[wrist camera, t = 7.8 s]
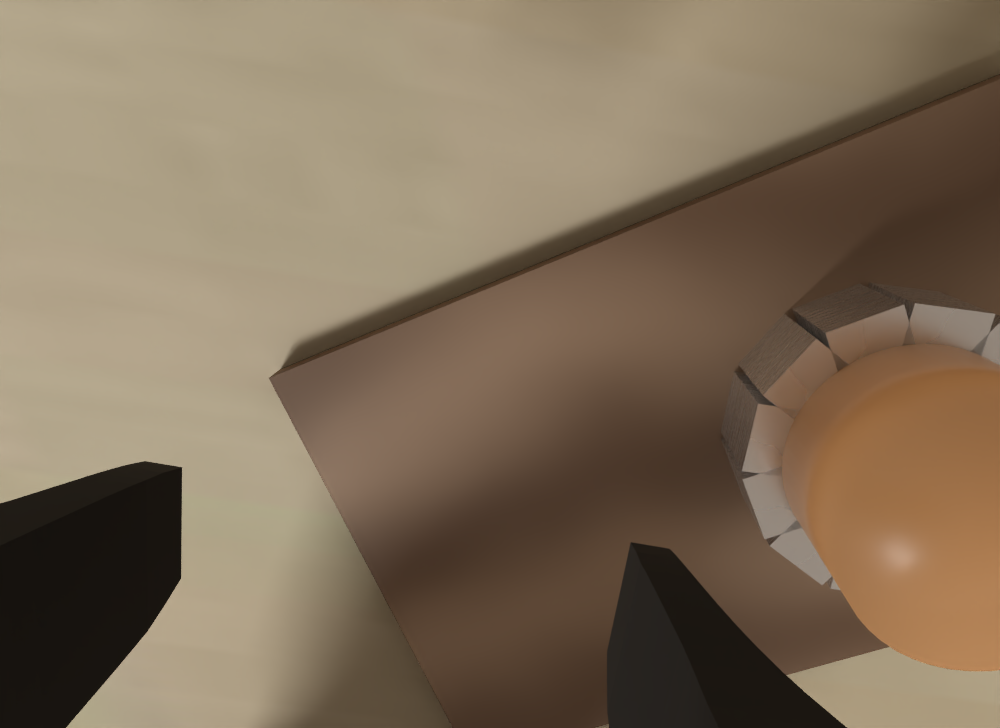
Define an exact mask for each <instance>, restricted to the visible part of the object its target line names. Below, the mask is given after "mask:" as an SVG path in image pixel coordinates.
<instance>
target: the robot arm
mask: <svg viewBox="0 0 1000 728" xmlns="http://www.w3.org/2000/svg"><path fill="white" fill-rule="evenodd" d="M181 515H182V467H176V466H170V465H164V464H158V463H152V462H146V461H144V462H139V463H134V464H129V465H125V466H121V467H118V468H114V469H110V470H107V471H104V472H100V473H97V474H94V475H90V476H87V477H84V478H81V479H78V480H74V481H71V482H68V483H65V484H62V485H59V486H56V487H52V488H49V489H46V490H43V491H40V492H37V493H33V494H30V495H27V496H24V497H21V498H18V499H14V500H11V501H8V502H4V503H1V504H0V728H66V727H67V726H68V725H69V723H70V722H71V721H72V720H73V719H74V718H75V716H76V715H77V714H78V713H79V712H80V711H81V709H82V708H83V707H84V706H85V705H86V704H87V702H88V701H89V700H90V699H91V698H92V696H93V695H94V694H95V693H96V692H97V691H98V689H99V688H100V687H101V686H102V685H103V684H104V682H105V681H106V680H107V679H108V678H109V677H110V675H111V674H112V673H113V672H114V671H115V670H116V668H117V667H118V666H119V665H120V664H121V662H122V661H123V660H124V659H125V658H126V656H127V655H128V654H129V653H130V652H131V650H132V649H133V648H134V647H135V646H136V645H137V643H138V642H139V641H140V640H141V638H142V637H143V636H144V635H145V633H146V632H147V631H148V629H149V628H150V626H151V625H152V623H153V622H154V620H155V619H156V617H157V616H158V614H159V613H160V611H161V610H162V608H163V607H164V605H165V604H166V602H167V600H168V599H169V597H170V595H171V594H172V592H173V590H174V589H175V587H176V586H177V584H178V582H179V581H180V579H181ZM607 714H608V722H609V728H847V727H845V726H844V725H843V724H842V723H841V722H839V721H838V720H837V719H836V718H835V717H833V716H832V715H831V714H830V713H829V712H827V711H826V710H825V709H824V708H823V707H822V706H820V705H819V704H818V703H817V702H816V701H814V700H813V699H812V698H811V697H810V696H809V695H807V694H806V693H805V692H804V691H803V690H802V689H801V688H799V687H798V686H797V685H796V684H795V683H794V682H793V681H792V680H791V679H790V678H788V677H787V676H786V675H785V674H784V673H783V672H782V671H781V670H780V669H779V668H778V667H777V666H776V665H775V664H774V663H773V662H772V661H771V660H770V659H769V658H768V657H767V656H766V655H765V654H764V653H763V652H762V651H761V650H760V649H759V648H758V647H757V646H756V645H755V644H754V643H753V642H752V641H751V640H750V639H749V638H748V637H747V636H746V635H745V634H744V633H743V631H742V630H741V629H740V628H739V627H738V626H737V625H736V624H735V623H734V622H733V621H732V620H731V618H730V617H729V616H728V615H727V614H726V613H725V612H724V611H723V609H722V608H721V607H720V606H719V605H718V604H717V603H716V601H715V600H714V599H713V598H712V597H711V596H710V595H709V593H708V592H707V591H706V590H705V589H704V587H703V586H702V585H701V584H700V583H699V582H698V580H697V579H696V578H695V577H694V576H693V574H692V573H691V572H690V571H689V570H688V569H687V567H686V566H685V565H684V564H683V563H682V561H681V560H680V559H679V558H678V557H677V556H676V555H675V554H674V552H673V551H672V550H671V549H669V548H663V547H657V546H651V545H645V544H639V543H633V542H631V543H630V548H629V552H628V557H627V561H626V566H625V571H624V575H623V580H622V585H621V589H620V594H619V598H618V603H617V608H616V612H615V617H614V622H613V626H612V631H611V635H610V640H609V645H608V649H607Z"/></svg>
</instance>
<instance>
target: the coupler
mask: <svg viewBox="0 0 1000 728" xmlns="http://www.w3.org/2000/svg"><path fill="white" fill-rule="evenodd" d="M782 478H783V486H784V490H785V494H786V498H787V501H788V503H789V505H790V508H791V510H792V512H793V514H794V515H795V517H796V519H797V520H798V522H799V524H800V525H801V527H802V528H803V530H804V532H805V533H806V535H807V536H808V538H809V540H810V541H811V543H812V545H813V546H814V548H815V549H816V551H817V553H818V554H819V556H820V558H821V559H822V561H823V562H824V564H825V566H826V567H827V569H828V571H829V572H830V574H831V575H832V577H833V579H834V580H835V582H836V583H837V585H838V587H839V588H840V590H841V592H842V593H843V595H844V596H845V598H846V600H847V601H848V603H849V605H850V606H851V608H852V609H853V611H854V612H855V614H856V616H857V617H858V618H859V620H860V621H861V622H862V623H863V624H864V625H865V627H866V628H867V629H868V630H869V631H870V632H871V633H873V634H874V635H875V636H876V637H877V638H878V639H879V640H881V641H882V642H883V643H885V644H886V645H888V646H889V647H891V648H893V649H894V650H896V651H897V652H899V653H902V654H904V655H906V656H908V657H910V658H912V659H914V660H917V661H920V662H923V663H926V664H929V665H933V666H937V667H942V668H947V669H953V670H963V671H995V670H1000V365H998V364H996V363H994V362H992V361H990V360H988V359H986V358H984V357H982V356H980V355H978V354H976V353H973V352H970V351H967V350H965V349H962V348H957V347H952V346H947V345H938V344H910V345H904V346H898V347H892V348H888V349H885V350H881V351H878V352H875V353H872V354H870V355H867V356H865V357H863V358H860V359H858V360H856V361H854V362H853V363H851V364H849V365H847V366H845V367H843V368H842V369H841V370H839V371H838V372H836V373H835V374H834V375H832V376H831V377H829V378H828V379H827V380H826V381H825V382H824V383H823V384H822V385H821V386H819V387H818V388H817V389H816V390H815V392H814V393H813V394H812V395H811V396H810V397H809V398H808V400H807V401H806V402H805V404H804V405H803V407H802V408H801V410H800V411H799V413H798V414H797V416H796V418H795V420H794V422H793V424H792V426H791V428H790V430H789V433H788V436H787V439H786V442H785V447H784V452H783V457H782Z"/></svg>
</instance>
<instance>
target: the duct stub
mask: <svg viewBox="0 0 1000 728" xmlns="http://www.w3.org/2000/svg"><path fill="white" fill-rule="evenodd" d="M792 311H793V314H794V317H795V320H796V323H795V322H794V321H793V320H792V319H790V318H789V317H788V316H786V315H785V314H783V316H782V317H781V318H780V319H779V320H778V321H777V322H776V323H775V324H774V325H773V326H772V328H771V329H770V330H769V331H768V332H767V333H766V334H765V335H764V336H763V337H762V338H761V339H760V341H759V342H758V343H757V344H756V345H755V346H754V347H753V348H752V349H751V350H750V351H749V353H748V354H747V355H746V356H745V357H744V358H743V359H742V360H741V361H740V362H739V363H738V365H739V366H740V367H741V368H742V370H743V371H744V372H745V373H742V372H735V371H734V374H733V378H732V383H731V387H730V392H729V396H728V400H727V405H726V409H725V414H724V418H723V422H722V427H721V433H722V435H723V437H724V438H722V439H721V440H722V443H723V445H724V448H725V451H726V454H727V456H728V459H729V462H730V464H731V467H732V470H733V472H734V475H735V478H736V481H737V483H738V486H739V489H740V491H741V494H742V496H743V498H744V500H745V501H746V503H747V505H748V507H749V509H750V511H751V513H752V515H753V517H754V519H755V521H756V523H757V525H758V527H759V529H760V531H761V533H762V535H763V537H764V539H766V540H767V542H768V544H769V546H770V547H772V548H773V549H774V550H776V551H777V552H778V553H780V554H781V555H782V556H784V557H785V558H786V559H788V560H789V561H790V562H792V563H793V564H794V565H796V566H797V567H798V568H800V569H801V570H802V571H804V572H805V573H806V574H808V575H809V576H810V577H812V578H813V579H814V580H816V581H817V582H818V583H820V584H821V585H823V584H824V583H825V582H827V584H828V586H829V587H830V589H836V590H840V588H839V587H838V585H837V583H836V582H835V580H834V579H833V577H832V575H831V574H830V572H829V571H828V569H827V567H826V566H825V564H824V562H823V561H822V559H821V558H820V556H819V554H818V553H817V551H816V549H815V548H814V546H813V545H812V543H811V541H810V540H809V538H808V536H807V535H806V533H805V532H804V530H803V528H802V527H801V525H800V524H799V522H798V520H797V519H796V517H795V515H794V514H793V512H792V510H791V508H790V505H789V503H788V501H787V498H786V494H785V490H784V486H783V478H782V457H783V452H784V447H785V442H786V439H787V436H788V433H789V430H790V428H791V426H792V424H793V422H794V420H795V418H796V416H797V414H798V413H799V411H800V410H801V408H802V407H803V405H804V404H805V402H806V401H807V400H808V398H809V397H810V396H811V395H812V394H813V393H814V392H815V390H816V389H817V388H818V387H819V386H821V385H822V384H823V383H824V382H825V381H826V380H827V379H828V378H829V377H831V376H832V375H834V374H835V373H836V372H838V371H839V370H841V369H842V368H843V367H845V366H847V365H849V364H851V363H853V362H854V361H856V360H858V359H860V358H863V357H865V356H867V355H870V354H872V353H875V352H878V351H881V350H885V349H888V348H892V347H898V346H904V345H910V344H938V345H947V346H952V347H957V348H962V349H965V350H967V351H970V352H973V353H976V354H978V355H980V356H982V357H984V358H986V359H988V360H990V361H992V362H994V363H996V364H998V365H1000V316H999V315H996V314H994V313H992V312H989V311H987V310H984V309H982V308H979V307H977V306H974V305H972V304H969V303H966V302H964V301H961V300H959V299H956V298H954V297H951V296H949V295H946V294H943V293H941V292H938V291H931V290H923V289H915V288H908V287H900V286H893V285H885V284H877V283H870V282H869V284H868V287H866V286H864V285H862V284H860V283H859V284H857V285H854V286H851V287H849V288H846V289H843V290H841V291H838V292H835V293H833V294H830V295H827V296H824V297H822V298H819V299H816V300H814V301H811V302H808V303H806V304H803V305H800V306H797V307H795V308H792Z"/></svg>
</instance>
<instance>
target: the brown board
mask: <svg viewBox="0 0 1000 728" xmlns="http://www.w3.org/2000/svg"><path fill="white" fill-rule="evenodd" d="M869 282H870V283H877V284H885V285H893V286H900V287H908V288H915V289H923V290H931V291H938V292H941V293H943V294H946V295H949V296H951V297H954V298H956V299H959V300H961V301H964V302H966V303H969V304H972V305H974V306H977V307H979V308H982V309H984V310H987V311H989V312H992V313H994V314H996V315H999V316H1000V74H999V75H997V76H994V77H992V78H990V79H987V80H985V81H982V82H980V83H977V84H975V85H972V86H970V87H968V88H965V89H963V90H960V91H958V92H955V93H953V94H951V95H948V96H946V97H943V98H941V99H938V100H936V101H933V102H931V103H929V104H926V105H924V106H921V107H919V108H916V109H914V110H912V111H909V112H907V113H904V114H902V115H899V116H897V117H894V118H892V119H890V120H887V121H885V122H882V123H880V124H877V125H875V126H873V127H870V128H868V129H865V130H863V131H860V132H858V133H855V134H853V135H851V136H848V137H846V138H843V139H841V140H838V141H836V142H834V143H831V144H829V145H826V146H824V147H821V148H819V149H816V150H814V151H812V152H809V153H807V154H804V155H802V156H799V157H797V158H795V159H792V160H790V161H787V162H785V163H782V164H780V165H778V166H775V167H773V168H770V169H768V170H765V171H763V172H760V173H758V174H756V175H753V176H751V177H748V178H746V179H743V180H741V181H739V182H736V183H734V184H731V185H729V186H726V187H724V188H721V189H719V190H717V191H714V192H712V193H709V194H707V195H704V196H702V197H700V198H697V199H695V200H692V201H690V202H687V203H685V204H682V205H680V206H678V207H675V208H673V209H670V210H668V211H665V212H663V213H661V214H658V215H656V216H653V217H651V218H648V219H646V220H643V221H641V222H639V223H636V224H634V225H631V226H629V227H626V228H624V229H622V230H619V231H617V232H614V233H612V234H609V235H607V236H604V237H602V238H600V239H597V240H595V241H592V242H590V243H587V244H585V245H583V246H580V247H578V248H575V249H573V250H570V251H568V252H565V253H563V254H561V255H558V256H556V257H553V258H551V259H548V260H546V261H544V262H541V263H539V264H536V265H534V266H531V267H529V268H526V269H524V270H522V271H519V272H517V273H514V274H512V275H509V276H507V277H505V278H502V279H500V280H497V281H495V282H492V283H490V284H487V285H485V286H483V287H480V288H478V289H475V290H473V291H470V292H468V293H466V294H463V295H461V296H458V297H456V298H453V299H451V300H448V301H446V302H444V303H441V304H439V305H436V306H434V307H431V308H429V309H427V310H424V311H422V312H419V313H417V314H414V315H412V316H410V317H407V318H405V319H402V320H400V321H397V322H395V323H392V324H390V325H388V326H385V327H383V328H380V329H378V330H375V331H373V332H371V333H368V334H366V335H363V336H361V337H358V338H356V339H353V340H351V341H349V342H346V343H344V344H341V345H339V346H336V347H334V348H332V349H329V350H327V351H324V352H322V353H319V354H317V355H314V356H312V357H310V358H307V359H305V360H302V361H300V362H297V363H295V364H293V365H290V366H288V367H285V368H283V369H280V370H279V371H278V372H276V373H275V374H274V375H272V376H271V377H270V378H269V379H270V381H271V383H272V385H273V387H274V389H275V391H276V392H277V394H278V396H279V398H280V400H281V402H282V404H283V406H284V408H285V410H286V411H287V413H288V415H289V417H290V419H291V421H292V423H293V425H294V427H295V429H296V430H297V432H298V434H299V436H300V438H301V440H302V442H303V444H304V446H305V448H306V450H307V451H308V453H309V455H310V457H311V459H312V461H313V463H314V465H315V467H316V469H317V470H318V472H319V474H320V476H321V478H322V480H323V482H324V484H325V486H326V488H327V489H328V491H329V493H330V495H331V497H332V499H333V501H334V503H335V505H336V507H337V508H338V510H339V512H340V514H341V516H342V518H343V520H344V522H345V524H346V526H347V527H348V529H349V531H350V533H351V535H352V537H353V539H354V541H355V543H356V545H357V546H358V548H359V550H360V552H361V554H362V556H363V558H364V560H365V562H366V564H367V565H368V567H369V569H370V571H371V573H372V575H373V577H374V579H375V581H376V583H377V584H378V586H379V588H380V590H381V592H382V594H383V596H384V598H385V600H386V602H387V603H388V605H389V607H390V609H391V611H392V613H393V615H394V617H395V619H396V621H397V622H398V624H399V626H400V628H401V630H402V632H403V634H404V636H405V638H406V640H407V641H408V643H409V645H410V647H411V649H412V651H413V653H414V655H415V657H416V659H417V660H418V662H419V664H420V666H421V668H422V670H423V672H424V674H425V676H426V678H427V679H428V681H429V683H430V685H431V687H432V689H433V691H434V693H435V695H436V697H437V698H438V700H439V702H440V704H441V706H442V708H443V710H444V712H445V714H446V716H447V717H448V719H449V721H450V723H451V725H452V727H453V728H595V727H599V726H602V725H606V724H609V722H608V714H607V649H608V645H609V640H610V635H611V631H612V626H613V622H614V617H615V612H616V608H617V603H618V598H619V594H620V589H621V585H622V580H623V575H624V571H625V566H626V561H627V557H628V552H629V548H630V543H631V542H633V543H639V544H645V545H651V546H657V547H663V548H669V549H671V550H672V551H673V552H674V554H675V555H676V556H677V557H678V558H679V559H680V560H681V561H682V563H683V564H684V565H685V566H686V567H687V569H688V570H689V571H690V572H691V573H692V574H693V576H694V577H695V578H696V579H697V580H698V582H699V583H700V584H701V585H702V586H703V587H704V589H705V590H706V591H707V592H708V593H709V595H710V596H711V597H712V598H713V599H714V600H715V601H716V603H717V604H718V605H719V606H720V607H721V608H722V609H723V611H724V612H725V613H726V614H727V615H728V616H729V617H730V618H731V620H732V621H733V622H734V623H735V624H736V625H737V626H738V627H739V628H740V629H741V630H742V631H743V633H744V634H745V635H746V636H747V637H748V638H749V639H750V640H751V641H752V642H753V643H754V644H755V645H756V646H757V647H758V648H759V649H760V650H761V651H762V652H763V653H764V654H765V655H766V656H767V657H768V658H769V659H770V660H771V661H772V662H773V663H774V664H775V665H776V666H777V667H778V668H779V669H780V670H781V671H782V672H783V673H784V674H785V675H788V674H792V673H795V672H799V671H803V670H806V669H810V668H814V667H817V666H821V665H824V664H828V663H832V662H835V661H839V660H843V659H846V658H850V657H854V656H857V655H861V654H865V653H868V652H872V651H875V650H879V649H883V648H886V647H889V646H888V645H886V644H885V643H883V642H882V641H881V640H879V639H878V638H877V637H876V636H875V635H874V634H873V633H871V632H870V631H869V630H868V629H867V628H866V627H865V625H864V624H863V623H862V622H861V621H860V620H859V618H858V617H857V616H856V614H855V612H854V611H853V609H852V608H851V606H850V605H849V603H848V601H847V600H846V598H845V596H844V595H843V593H842V592H841V590H836V589H830V587H829V586H828V584H827V582H825V583H824V584H823V585H821V584H820V583H818V582H817V581H816V580H814V579H813V578H812V577H810V576H809V575H808V574H806V573H805V572H804V571H802V570H801V569H800V568H798V567H797V566H796V565H794V564H793V563H792V562H790V561H789V560H788V559H786V558H785V557H784V556H782V555H781V554H780V553H778V552H777V551H776V550H774V549H773V548H772V547H770V546H769V544H768V542H767V540H766V539H764V537H763V535H762V533H761V531H760V529H759V527H758V525H757V523H756V521H755V519H754V517H753V515H752V513H751V511H750V509H749V507H748V505H747V503H746V501H745V500H744V498H743V496H742V494H741V491H740V489H739V486H738V483H737V481H736V478H735V475H734V472H733V470H732V467H731V464H730V462H729V459H728V456H727V454H726V451H725V448H724V445H723V443H722V440H721V439H722V438H724V437H723V435H722V433H721V427H722V422H723V418H724V414H725V409H726V405H727V400H728V396H729V392H730V387H731V383H732V378H733V374H734V371H735V372H742V373H745V372H744V371H743V370H742V368H741V367H740V366H739V365H738V363H739V362H740V361H741V360H742V359H743V358H744V357H745V356H746V355H747V354H748V353H749V351H750V350H751V349H752V348H753V347H754V346H755V345H756V344H757V343H758V342H759V341H760V339H761V338H762V337H763V336H764V335H765V334H766V333H767V332H768V331H769V330H770V329H771V328H772V326H773V325H774V324H775V323H776V322H777V321H778V320H779V319H780V318H781V317H782V316H783V314H785V315H786V316H788V317H789V318H790V319H792V320H793V321H794V322H795V323H796V320H795V317H794V314H793V311H792V308H795V307H797V306H800V305H803V304H806V303H808V302H811V301H814V300H816V299H819V298H822V297H824V296H827V295H830V294H833V293H835V292H838V291H841V290H843V289H846V288H849V287H851V286H854V285H857V284H859V283H860V284H862V285H864V286H866V287H868V284H869Z"/></svg>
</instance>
